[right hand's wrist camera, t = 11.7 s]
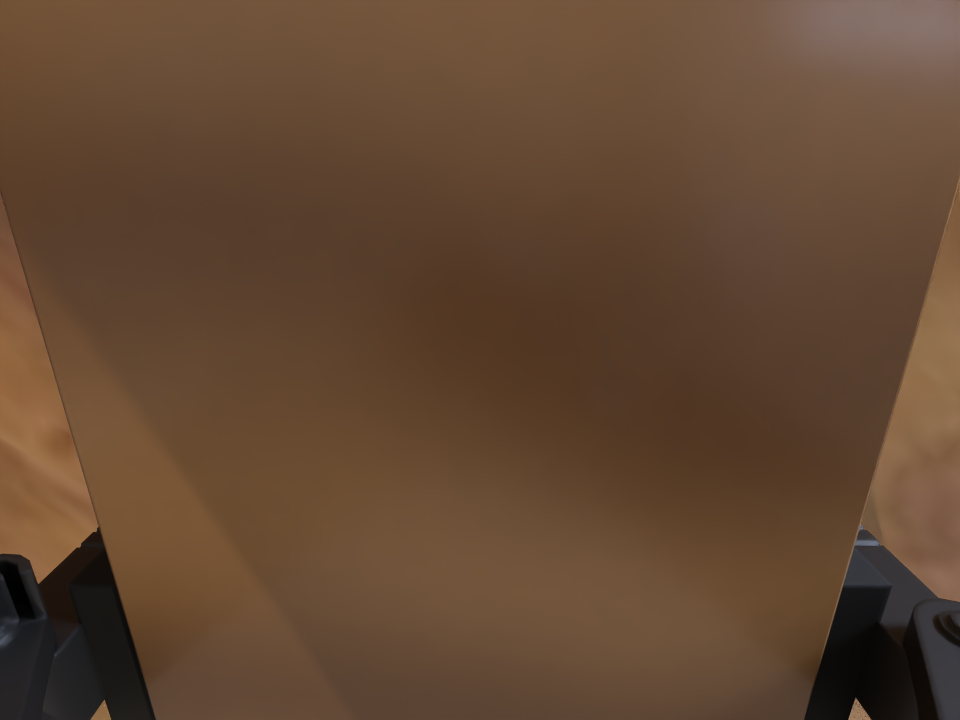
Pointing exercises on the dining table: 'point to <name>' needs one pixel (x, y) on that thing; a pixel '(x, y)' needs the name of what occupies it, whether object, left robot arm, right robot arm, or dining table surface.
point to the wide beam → (479, 335)
